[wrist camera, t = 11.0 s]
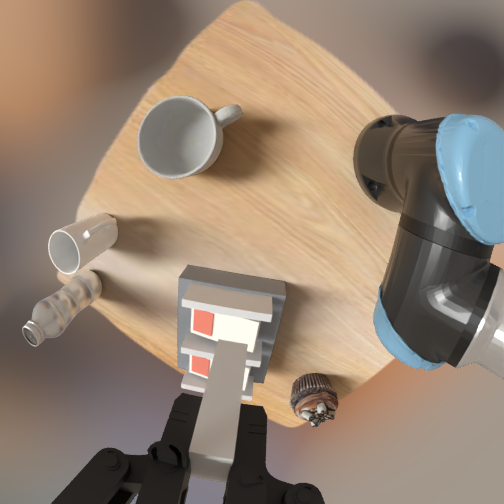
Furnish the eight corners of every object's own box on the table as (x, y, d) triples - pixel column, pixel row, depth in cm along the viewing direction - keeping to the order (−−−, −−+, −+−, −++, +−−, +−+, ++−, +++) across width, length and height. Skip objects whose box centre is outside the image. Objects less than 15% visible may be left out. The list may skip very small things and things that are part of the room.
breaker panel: (284, 281, 44) (288, 314, 34) (264, 365, 50) (262, 403, 41) (187, 264, 44) (167, 293, 35) (184, 351, 50) (170, 386, 41)
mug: (101, 254, 44) (63, 281, 33) (84, 222, 43) (42, 243, 31) (139, 229, 42) (101, 254, 31) (121, 194, 41) (78, 209, 29)
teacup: (167, 182, 40) (145, 188, 32) (153, 117, 36) (129, 111, 29) (255, 161, 38) (252, 161, 30) (240, 92, 34) (233, 77, 27)
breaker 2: (252, 362, 40) (249, 369, 39) (247, 384, 42) (244, 391, 41) (193, 344, 42) (189, 349, 41) (192, 366, 44) (188, 372, 42)
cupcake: (311, 363, 50) (317, 400, 40) (341, 381, 51) (350, 416, 42) (279, 387, 52) (279, 424, 43) (310, 403, 54) (314, 438, 45)
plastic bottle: (110, 294, 47) (51, 356, 28) (87, 296, 48) (29, 352, 29) (99, 264, 45) (31, 318, 26) (76, 268, 46) (10, 317, 27)
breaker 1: (261, 317, 37) (258, 323, 36) (255, 346, 39) (252, 353, 37) (196, 297, 39) (191, 302, 38) (194, 327, 41) (189, 332, 39)
